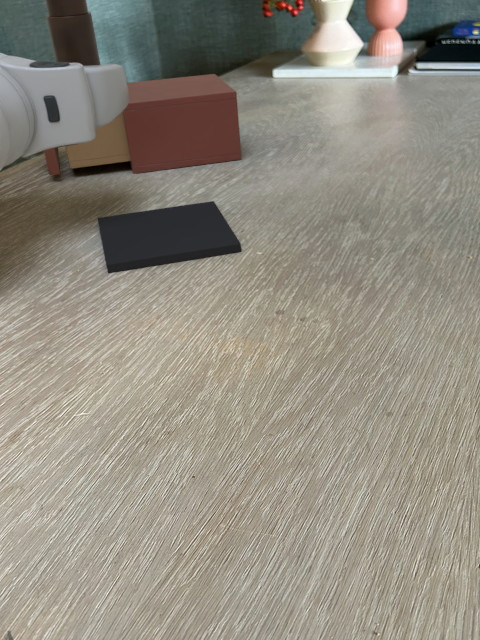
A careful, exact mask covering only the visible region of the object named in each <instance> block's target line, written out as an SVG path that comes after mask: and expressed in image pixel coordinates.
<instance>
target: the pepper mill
mask: <svg viewBox="0 0 480 640" xmlns="http://www.w3.org/2000/svg"><path fill="white" fill-rule="evenodd" d="M45 5H46V9H47V15H46V16H45V17H46V22H47V27H48V32H49V38H50V42H51V45H52V46H51V47H52V50H53V55H54V59H55V62H69V63H80V64H82V65H83V66H92V65H101V61H100V60H101V59H100V54H99V50H98V44H97V43H98V42H97V38H96V34H95V33H96V32H95V27H94V22H93V15H92V12H90V11H89V9H88V3H87V0H45Z"/></svg>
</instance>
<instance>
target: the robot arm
mask: <svg viewBox="0 0 480 640" xmlns="http://www.w3.org/2000/svg"><path fill="white" fill-rule="evenodd" d="M126 74H127V73H126V71H125V68H124V67H123V66H122V65H120V64H117V63H111V64H100V65H92V66H83V65H82V64H80V63H69V62H56V61H47V60H46V61H45V60H35V59H29V58H24V57H22V56H21V57H20V56H16V55H8V54H5V53H2V52H0V172H1V171H2V170H3V168H5V167H7V166H10V165H11V164H13V163H14V162H16V161H17V160H18V159H20V158H23V159H24V158H28V157H30V156H34V155H35V154H38V153H40V152H44V150H47V149H52V148H58V149H59V148H63V147H66V146H70V145H76V144H80V143H87V142H90V141H92V140H94V139H95V138H96V136H97V130H96V128H99V127H102V126H104V125H106V124H108V123H110V122H111V121H113V120H114V119H115V118H116V117H117V116H118V115H120V114H121V113H122V112H123V111H124V109H125V108H126V107H127V106H128V103H129V92H128V85H127V83H128V80H127V75H126Z"/></svg>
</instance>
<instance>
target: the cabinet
mask: <svg viewBox="0 0 480 640" xmlns="http://www.w3.org/2000/svg"><path fill="white" fill-rule="evenodd" d="M127 85H128V92H129V103H128V106H127V107H126V108H125V109H124V111H123V117H124V123H125V128H126V134H127V140H128V146H129V152H130V158H131V161H128V163H129V165H130V168H131V170H132V171H131V172H132V173H133V175H134V174H140V173H141V174H142V173H149V172H157V171H164V170H165V171H166V170H173V169H179V168H180V169H181V168H187V167H194V166H202V165H203V166H204V165H211V164H217V163H225V162H233V161H234V162H235V161H240V160H242V146H241V135H240V134H241V133H240V123H239V122H240V121H239V108H238V95H237V94H238V93H237V91H236V90H235V89H234V88H233V87H232V86H230V85H229V84H227V82H225V81H224V80H222V78H220V77H219V76H218V75H217V74H215V73H209V74H201V75H190V76H181V77H171V78H161V79H160V78H159V79H152V80H151V79H150V80H142V81H132V82H127Z"/></svg>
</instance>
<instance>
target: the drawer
mask: <svg viewBox="0 0 480 640" xmlns="http://www.w3.org/2000/svg"><path fill="white" fill-rule="evenodd" d="M96 130H97V136H96V138H95V139H94V140H92V141H90V142H87V143H80V144H76V145H70V146H65V150H66V154H67V159H68V164H69V168H70V169H79V168H86V167H87V168H88V167H93V166H103V165H111V164H119V163H125V162H129V161H131V158H130V152H129V146H128V140H127V134H126V128H125V123H124V117H123V112H122V113H121V114H120V115H118V116H117V117H116V118H115V119H114V120H113V121H111V122H110V123H108V124H106V125H104V126H102V127H99V128H96ZM43 153H44V157H45V161H46V166H47V170H48V174H49V176H55V175H56V176H57V175H60V174H61V169H60V168H61V167H60V154H59V147H58V148H52V149H47V150H44V151H43Z"/></svg>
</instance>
